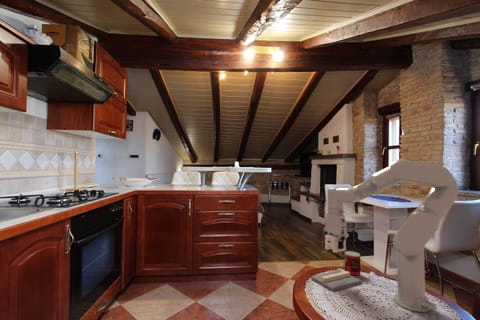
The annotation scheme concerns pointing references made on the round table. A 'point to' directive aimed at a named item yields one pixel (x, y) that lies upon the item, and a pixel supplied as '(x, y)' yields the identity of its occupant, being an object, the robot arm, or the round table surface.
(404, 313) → the round table surface
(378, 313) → the round table surface
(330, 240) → the cabinet block
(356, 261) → the canned food
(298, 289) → the round table surface
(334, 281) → the mount board
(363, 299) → the round table surface
